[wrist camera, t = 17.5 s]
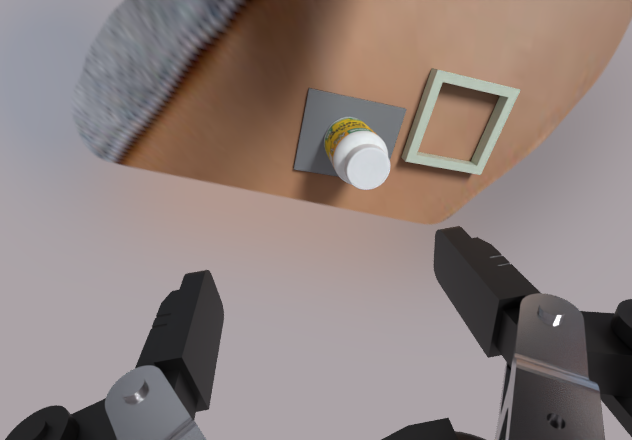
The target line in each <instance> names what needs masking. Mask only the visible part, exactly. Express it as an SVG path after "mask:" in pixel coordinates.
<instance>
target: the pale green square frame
mask: <svg viewBox="0 0 632 440" xmlns="http://www.w3.org/2000/svg"><path fill="white" fill-rule="evenodd" d="M443 82H445V83H449V84H454V85H458V86H462V87H466V88H471V89H475V90H479V91H483V92H488V93H492V94H496V95H500V97H499V99H498V101H497V104H496V106H495V108H494V110H493V113H492V115H491V117H490V119H489V122H488V124H487V126H486V128H485V131H484V133H483V135H482V137H481V140H480V142H479V144H478V146H477V148H476V151H475V153H474V155H473V157H472V160H471V162H470V161H464V160H459V159H453V158H448V157H443V156H437V155H432V154H426V153H421V152H418V149H419V146H420V143H421V141H422V138H423V135H424V132H425V130H426V127H427V124H428V121H429V119H430V116H431V113H432V110H433V108H434V105H435V102H436V99H437V97H438V94H439V91H440V88H441V86H442V83H443ZM519 92H520V89H516V88H511V87H507V86H503V85H499V84H495V83H491V82H487V81H483V80H478V79H474V78H470V77H466V76H462V75H458V74H454V73H450V72H445V71H441V70H437V69H433V68H432V69H431V72H430V75H429V78H428V81H427V84H426V87H425V90H424V93H423V95H422V98H421V101H420V104H419V107H418V110H417V113H416V116H415V119H414V122H413V125H412V128H411V130H410V133H409V136H408V139H407V142H406V145H405V148H404V151H403V154H402V157H401V158H402V159H403V160H405V161H406V162H411V163H417V164H422V165H428V166H434V167H439V168H445V169H450V170H456V171H462V172H467V173H473V174H478V175H481V173H482V171H483V169H484V167H485V164H486V162H487V160H488V158H489V156H490V154H491V152H492V150H493V147H494V145H495V143H496V141H497V139H498V137H499V135H500V133H501V130H502V128H503V126H504V124H505V122H506V120H507V118H508V116H509V113H510V111H511V109H512V107H513V105H514V103H515V101H516V99H517V96H518V94H519Z"/></svg>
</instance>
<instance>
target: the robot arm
mask: <svg viewBox="0 0 632 440" xmlns="http://www.w3.org/2000/svg"><path fill="white" fill-rule="evenodd" d="M434 272H435V275H436V278H437V280H438V282H439V284H440V285H441V287H442V288H443V290H444V291H445V293H446V294H447V296H448V297H449V299H450V301H451V302H452V304H453V305H454V306H455V308H456V310H457V311H458V313H459V314H460V315H461V317H462V319H463V320H464V322H465V323H466V325H467V326H468V328H469V329H470V331H471V333H472V334H473V336H474V337H475V339H476V340H477V342H478V343H479V345H480V346H481V348H482V349H483V351H484V352H485V354H486V355H487V357H494V356H499V355H502V356H503V357H504V359H505V360H506V362H507V363H506V367H505V373H504V381H503V389H502V396H501V403H500V411H499V418H498V425H497V431H496V436H495V440H605V436H604V426H603V417H602V407H601V400H602V401H603V403H604V404H605V405H606V406H607V407H608V409H609V410H610V411H611V412H612V413H613V415H614V416H615V417H616V418H617V420H618V421H619V422H620V423H621V425H622V426H623V427H624V428H625V430H626V431H627V432H628V433H629V434H630V435H631V437H632V299H629V300H625V301H622V302H621V303H620V304H619V305H618V307H617V309H616V312H615V314H614V313H599V312H585V311H579V310H578V308H576V307H575V306H574V305H573V304H571V303H570V302H568V301H567V300H565V299H562V298H560V297H557V296H554V295H550V294H542V293H540V292H539V291H538V290H537V289H536V288H535V287H534V286H533V285H532V284H531V283H530V282H529V281H528V280H527V279H526V278H525V277H524V276H523V275H522V274H521V273H520V272H519V271H518V270H517V269H516V268H515V267H514V266H513V265H512V264H511V265H510V263H509V261H508V260H507V259H506V258H505V257H504V256H501V253H500V252H499V251H498V250H497V249H495V248H494V247H493V246H492V245H491V244H489V243H487V242H485V241H483V240H481V239H479V238H478V237H477V238H471V237H470V236H469V235H468V234H467V233H466V232H465V231H464V230H463V228H461V227H460V226H457V227H451V228H446V229H440V230H437V231H436V234H435V250H434ZM156 316H157V318H155V320H154V323H153V325H152V329H151V330H150V333H149V335H148V337H147V340H146V343H145V345H144V347H143V350H142V352H141V355H140V358H139V360H138V362H137V365H136V367H135V369H133V370H131V371H130V372H128V373H126V374H125V375H124V376H122V377H121V378H120V379H119V380H118V381H117V382H116V383H115V384H114V385H113V386H112V388H111V389H110V391H109V393H108V394H107V397H106V398H105V399H103V400H101V401H99V402H97V403H95V404H93V405H91V406H88V407H86V408H84V409H82V410H80V411H78V412H75V413H73V414H70V413H69V412H68V411H67V410H66V408H64V407H63V406H49V407H46V408H43V409H41V410H39V411H37V412H35V413H33V414H32V415H30V416H29V417H27V418H26V419H24V420H23V421H22V422H21V423H20V424H19V425H17V426H16V427H15V428H14V429H13V430H12V432H11V433H10V434H9V435H8V436H7V438H6V439H5V440H206V438H205V437H204V435H203V434H202V432H201V431H200V429H199V428H198V426H197V424H196V423H195V421H194V418H195V413H196V412H198V411H203V410H208V409H209V405H210V399H211V393H212V386H213V381H214V375H215V369H216V362H217V357H218V351H219V345H220V339H221V333H222V327H223V320H224V311H223V305H222V301H221V299H220V296H219V293H218V291H217V288H216V285H215V283H214V280H213V277H212V275H211V273H210V271H209V270H205V271H199V272H194V273H188V274H185V276H184V278H183V281H182V284H181V287H180V289H179V290H176V291H172V292H171V293H170V294H169V295H168V296H167V297H166V298H165V300H164V301H163V302H162V303H161V305H160V308H159V310H158V313H157V315H156ZM382 440H485V439H483V438H480V437H477V436H475V435H471V434H467V433H463V432H456V431H454V429H453V427H452V425H451V423H450V420H449V418H445V419H440V420H435V421H429V422H424V423H419V424H414V425H409V426H407V427H405V428H403V429H401V430H399V431H397V432H395V433H393V434H391V435H389V436H388V437H386V438H384V439H382Z"/></svg>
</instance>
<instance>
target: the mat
mask: <svg viewBox="0 0 632 440" xmlns="http://www.w3.org/2000/svg"><path fill="white" fill-rule="evenodd" d="M405 112H406V109H405V108H401V107H396V106H391V105H387V104H382V103H377V102H372V101H368V100H363V99H358V98H354V97H349V96H344V95H339V94H335V93H330V92H325V91H321V90H316V89H311V88H309V91H308V96H307V101H306V106H305V111H304V117H303V122H302V127H301V132H300V138H299V143H298V148H297V153H296V159H295V164H294V169H295V170H301V171H307V172H313V173H319V174H326V175H332V176H338V174H337V173H336V171H335V169H334V167H333V165H332V163H331V161H330V159H329V157H328V155H327V153H326V151H325V147H324V138H325V135H326V132H327V131H328V129H329V127H330V126H331V125H332V124H333V123H334V122H335V121H337V120H339V119H341V118H344V117H354V118H357V119H359V120H361V121H362V122H364V123H365V124H366V125H367V126H368V127H369V128H370V129H372V130H373V131H374V132H375V133H376V134H377V135H378V136H379V137H380V138H381V139H382V140H383V141H384V143H385V145H386V147H387V150H388V158H389V161H390V158H391V155H392V152H393V149H394V146H395V143H396V140H397V137H398V134H399V131H400V128H401V125H402V121H403V118H404V115H405ZM338 177H339V176H338Z"/></svg>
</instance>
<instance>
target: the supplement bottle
mask: <svg viewBox="0 0 632 440" xmlns="http://www.w3.org/2000/svg"><path fill="white" fill-rule="evenodd" d="M324 147H325V151H326V153H327V155H328V157H329V159H330V161H331V163H332V165H333V167H334V169H335V171H336V173H337V174H338V176H339V177H340V178H341V179H342V180H343V181H345V182H347V183H349V184H352V185H353V186H355V187H356V188H359V189H362V190H369V189H373V188H376V187H378V186H379V185H381V184H382V183H383V182H384V181H385V180H386V178H387V177H388V175H389V172H390V161H389V158H388V150H387V147H386V145H385V143H384V141H383V140H382V139H381V138H380V137H379V136H378V135H377V134H376V133H375V132H374V131H373V130H372V129H370V128H369V127H368V126H367V125H366V124H365V123H364V122H362V121H361V120H359V119H357V118H354V117H344V118H341V119H339V120H337V121H335V122H334V123H333V124H332V125H331V126H330V127H329V129H328V131H327V132H326V135H325V138H324Z"/></svg>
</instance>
